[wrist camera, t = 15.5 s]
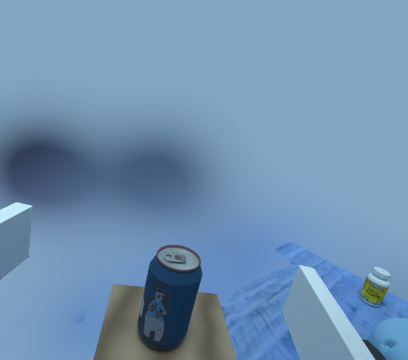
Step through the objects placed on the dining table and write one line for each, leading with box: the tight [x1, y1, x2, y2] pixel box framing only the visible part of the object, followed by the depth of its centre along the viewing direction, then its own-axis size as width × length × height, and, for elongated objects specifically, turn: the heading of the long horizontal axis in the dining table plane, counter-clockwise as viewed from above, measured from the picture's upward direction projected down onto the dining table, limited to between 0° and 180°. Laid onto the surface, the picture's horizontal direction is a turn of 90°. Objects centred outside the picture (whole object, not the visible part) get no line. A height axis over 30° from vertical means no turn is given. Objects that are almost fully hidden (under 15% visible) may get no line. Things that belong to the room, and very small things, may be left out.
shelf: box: [94, 284, 236, 360], centre depth 39 cm, size 18×18×9 cm
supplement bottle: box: [359, 267, 390, 307], centre depth 74 cm, size 5×5×10 cm
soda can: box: [138, 245, 202, 349], centre depth 36 cm, size 7×7×12 cm
